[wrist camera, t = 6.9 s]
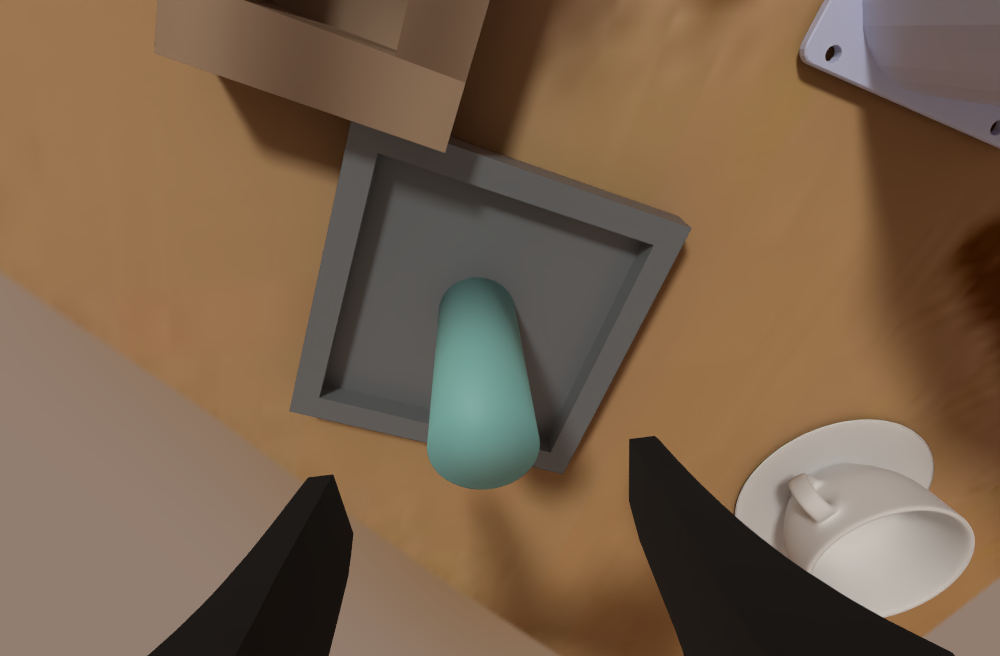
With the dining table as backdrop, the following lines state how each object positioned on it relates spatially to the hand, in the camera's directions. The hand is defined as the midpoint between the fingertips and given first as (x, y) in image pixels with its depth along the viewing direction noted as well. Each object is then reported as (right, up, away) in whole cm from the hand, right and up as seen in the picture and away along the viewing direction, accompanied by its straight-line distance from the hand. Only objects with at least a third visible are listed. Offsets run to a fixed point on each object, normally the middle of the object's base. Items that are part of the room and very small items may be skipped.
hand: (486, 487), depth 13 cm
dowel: (-1, +4, +8) cm, 9 cm away
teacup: (+17, -4, +15) cm, 23 cm away
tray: (-1, +5, +9) cm, 10 cm away
